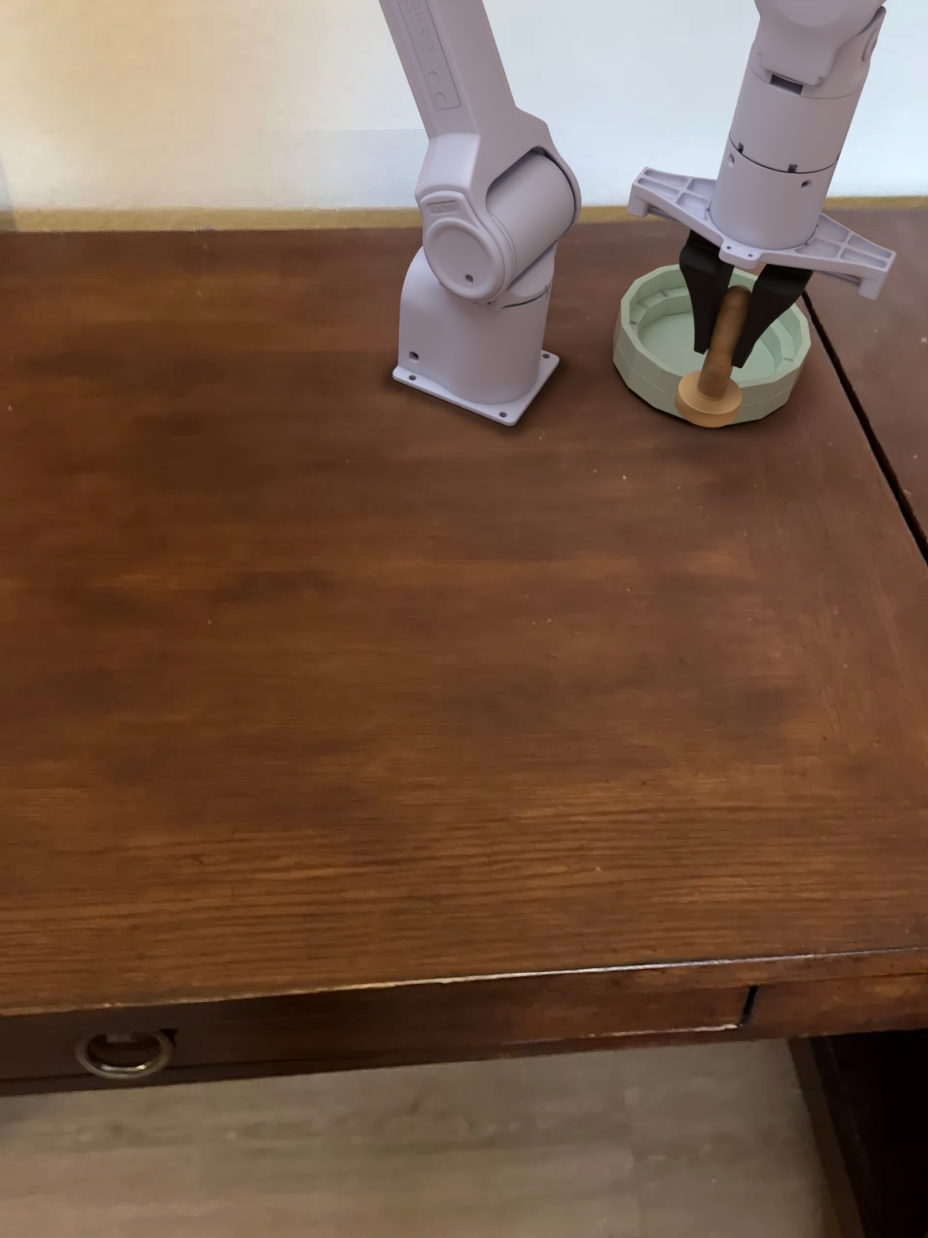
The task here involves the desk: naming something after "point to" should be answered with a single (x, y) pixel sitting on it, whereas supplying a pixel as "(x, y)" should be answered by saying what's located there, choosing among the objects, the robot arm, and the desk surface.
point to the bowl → (664, 353)
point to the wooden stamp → (717, 367)
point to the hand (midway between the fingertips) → (722, 350)
